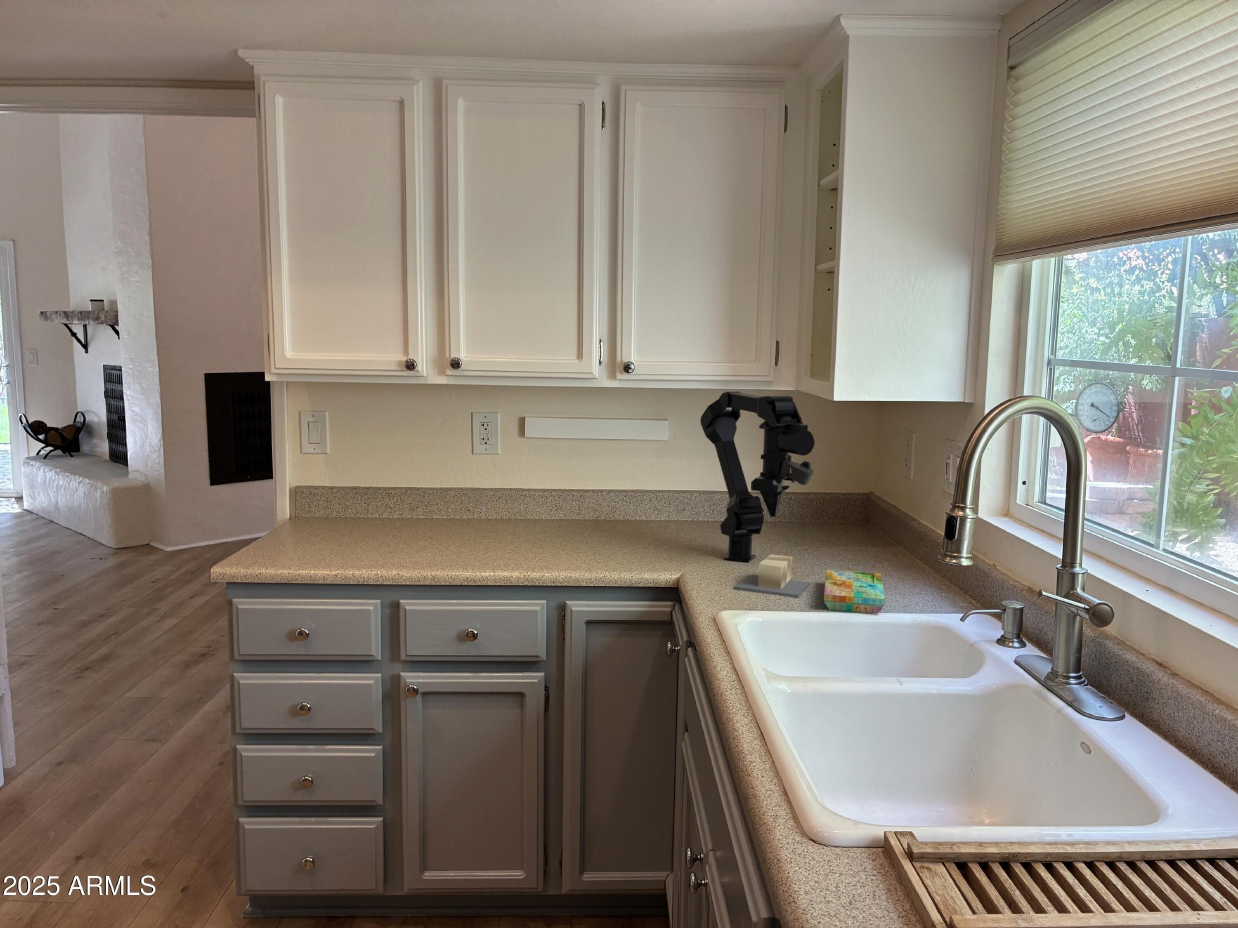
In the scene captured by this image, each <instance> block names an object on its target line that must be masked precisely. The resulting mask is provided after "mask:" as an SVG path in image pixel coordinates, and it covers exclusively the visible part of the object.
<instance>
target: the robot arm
mask: <svg viewBox="0 0 1238 928" xmlns="http://www.w3.org/2000/svg"><path fill="white" fill-rule="evenodd" d="M741 411H746V412H749V413H754V414H756V416H757V417H758V418H759V419H761V420H764V421H763V422H761V423H760V424H759V426H758V428H759V429H760V430H763V447H762V448H763V451H762V453H761V454H760V460H762V471H761V472H760V473H759V476H757V477H755V478H754V479H753V480H751V481H750V491H755V492H759V493H760V495H761V497H762V500H763V502H764V503H765V506H766V508H767V512H768V515H769V516H770V517H772V518H775V517H776V516H777V514H778V509H779V507H780V503H781V501H782V500H781V499H782V497H783V494H784V493H785V492H786V491H787V490H789V489H790V488H791V485H785V482H784V481H790V482H791V483H792V484H795V483H798V484H799V485H802V486H806V485H807V484H809V483H810V480H811V478H812V476H813V474H814V469H812V464H811V462H809V461H807V460H804V461H802V462H801V463H800V462H795V461H792V459H793V457H792V455H791V454H793V455H798V456H804V457H805V456H807V455H809V454H811V452H813V449H814V446H815V443H816V442H815V441H816V440H815V439H814V435H813V433H812V432H811V431H810V430H809V428H808V427H809V426H808V424H804V423H803V420H802V416H801V415H800V413H799V410H798V407H797V405H796V403H795V401H794V398H793V397H792V396H791V395H765V396H764V395H763V396H761V395H756V394H750V393H745V392H740V391H738V390H737V391H736V390H735V391H725V392H723V393H721V395H720V396H719V398H718V399H716V400H715V401H713V402H712V403H710V404H709V405H708V406H707V407H706V408H705V410H704V411H703V413H702V414H701V417H700V420H699V421H700V425H701V428H702V430H703V433H704V436H705V437H706V439H708V440H709V441H710V442H711V443H712V445H714V448H715V451H716V454H717V459H718V463H719V464H720V465H719V466H720V469H721V472H722V475H723V479H724V484H725V487H726V490H727V493H728V494H727V495H728V497H729V499H728V503H727V506H726V515H727V516H726V517H725V518H724V519H723V520H722V522H721V523H720V525H719V527H720V532H721V534H723V535H725V536H727V537H728V548H727V549H728V551H727V552H728V553H727V554H726V555H724V556H723V559H724V560H727V561H736V562H745V563H749V562H751V561H753V560H754V559H755V558H756V556H757V555H756V554H754V553H753V554H752V551H753V535H760V534H761V533H762V532H761V531H762V530H763V529H762V527H763V524H764V522H765V514H764V512H765V510H764V508H763V505H762V502H761V497H759V495H752V493H750V491H749V488H748V484H747V480H746V477H745V474H744V470H743V466H742V464H741V460H740V457H739V452H738V450H737V446H736V443H735V437H736V433H737V429H738V426H737V422H738V421H739V419H740V418H741V417H742V416H741Z"/></svg>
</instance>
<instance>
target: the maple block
mask: <svg viewBox="0 0 1238 928" xmlns="http://www.w3.org/2000/svg"><path fill="white" fill-rule="evenodd" d="M793 559H794V558H793V556H790V555H789V556H788V555H781V554H780V555H779V554H772V553H771V554H769V555H768V556H766V557H765V558H764V559H763V560H762V561H761V562H759V563H758V571H757V573H758V575H757V576H758V586H759V587H766V588H774V589H781V588H782V587H783V586H784V585H785V584H786V583H787V582H788V581H789V580H792V577H793Z"/></svg>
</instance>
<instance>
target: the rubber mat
mask: <svg viewBox="0 0 1238 928" xmlns="http://www.w3.org/2000/svg"><path fill="white" fill-rule="evenodd" d="M810 585H811V582H808V581H801V580H795V579H794V580H792V579H790V580H789V581H788V582H787V583H786V584H785V585H784V586H783V587H782V588H781V589H774V588H766V587H759V586H758V575H753V574H748V575H747V576H746V577H744V578H743V579H742V580H741V581H739V582H738V583H737V584H735V586H734V590H739V591H745V592H751V593H752V592H754V593H759V594H760V593H761V594H767V595H776V596H783V597H790V598H798V599H799V597H800V596H801V595H802V594H803V593H804V592H805V591H806V590H807V589H808V587H810Z"/></svg>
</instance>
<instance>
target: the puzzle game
mask: <svg viewBox="0 0 1238 928" xmlns="http://www.w3.org/2000/svg"><path fill="white" fill-rule="evenodd" d="M824 580H825V582H824V593H823V602H824V604H825V605H826V607H827V608H828V610H829V611H838V612H847V613H848V612H849V613H860V612H865V613H864V614H871V613H877V614H878V613H879V612H880V611H882V609H883V608H884V606H885V599H886V598H885V594H884V587H883V578H882V574H881V573H878V572H877V573H876V572H864V571H863V572H862V571H849V570H835V569H826V570H825V579H824Z"/></svg>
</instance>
